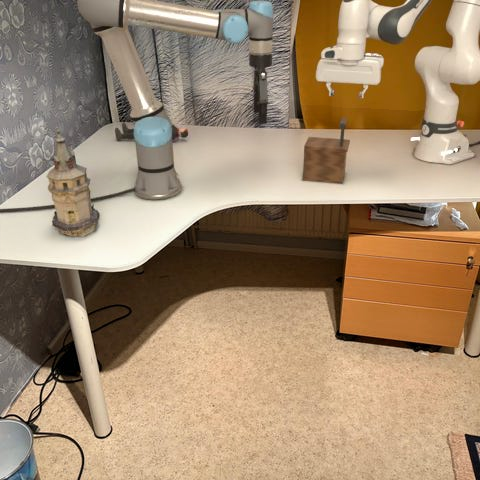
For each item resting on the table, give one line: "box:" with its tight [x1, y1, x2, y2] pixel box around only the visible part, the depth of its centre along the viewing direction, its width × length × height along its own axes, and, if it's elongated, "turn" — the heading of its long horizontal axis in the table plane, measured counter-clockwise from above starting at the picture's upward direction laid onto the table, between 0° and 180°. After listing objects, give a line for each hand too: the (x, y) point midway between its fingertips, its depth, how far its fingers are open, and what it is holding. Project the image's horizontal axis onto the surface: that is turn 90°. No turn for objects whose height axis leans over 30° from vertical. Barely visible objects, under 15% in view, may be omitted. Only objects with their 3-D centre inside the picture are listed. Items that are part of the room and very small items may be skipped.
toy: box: [114, 121, 189, 142], centre depth 223 cm, size 26×6×30 cm
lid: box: [303, 117, 351, 153], centre depth 179 cm, size 14×10×9 cm
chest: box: [302, 148, 348, 185], centre depth 184 cm, size 14×10×11 cm
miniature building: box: [46, 129, 101, 237], centre depth 148 cm, size 13×14×30 cm
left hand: (260, 117), depth 184 cm, fingers open, 13 cm apart
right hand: (346, 96), depth 172 cm, fingers open, 8 cm apart
